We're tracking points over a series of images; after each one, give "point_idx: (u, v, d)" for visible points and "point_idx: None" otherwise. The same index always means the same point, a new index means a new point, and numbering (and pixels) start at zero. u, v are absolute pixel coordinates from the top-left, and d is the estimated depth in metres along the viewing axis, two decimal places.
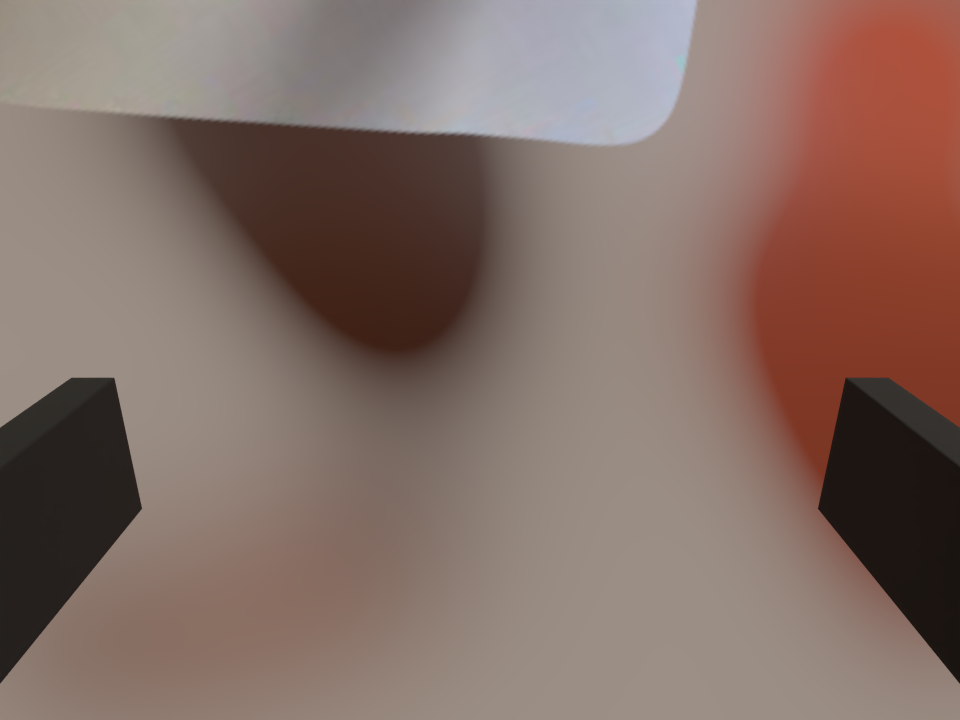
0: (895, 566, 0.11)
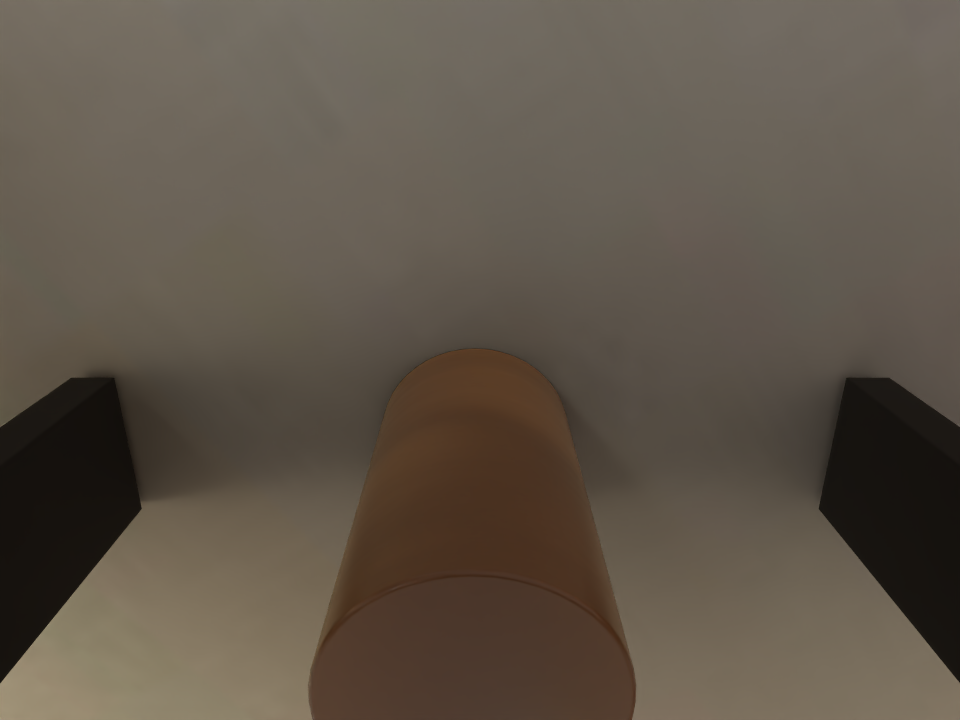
0: (895, 567, 0.11)
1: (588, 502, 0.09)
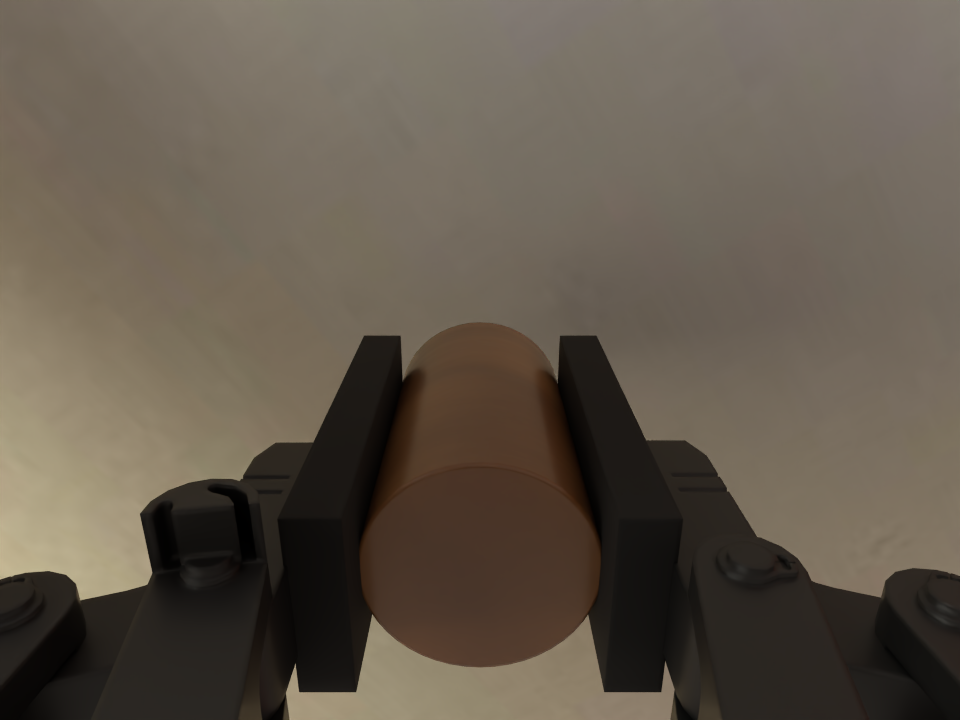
0: None
1: (572, 438, 0.12)
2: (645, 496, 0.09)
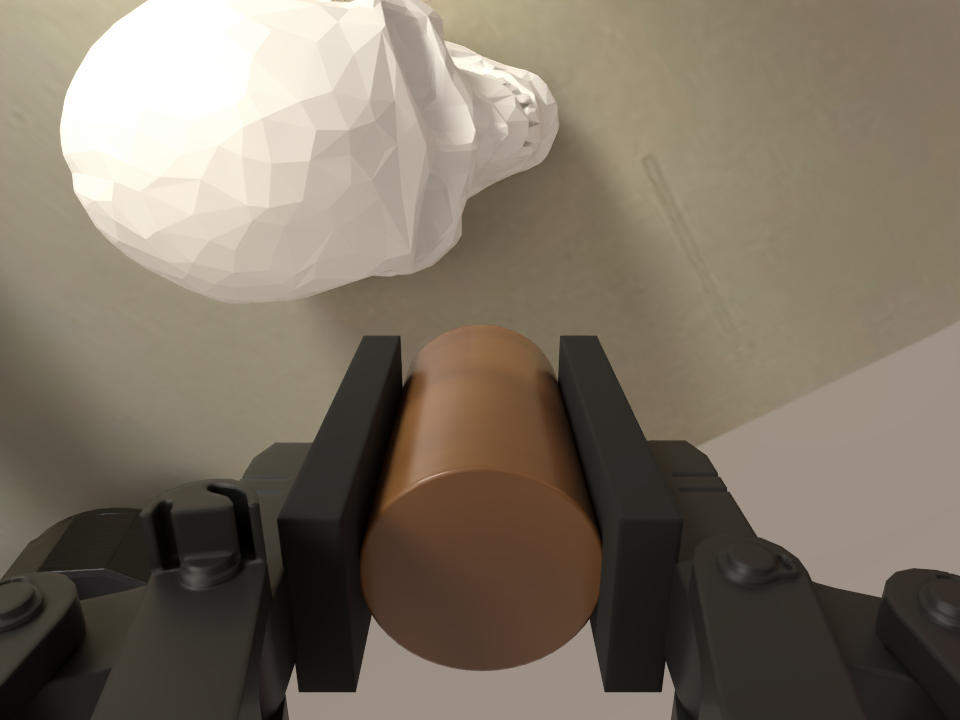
0: None
1: (573, 440, 0.12)
2: (645, 496, 0.09)
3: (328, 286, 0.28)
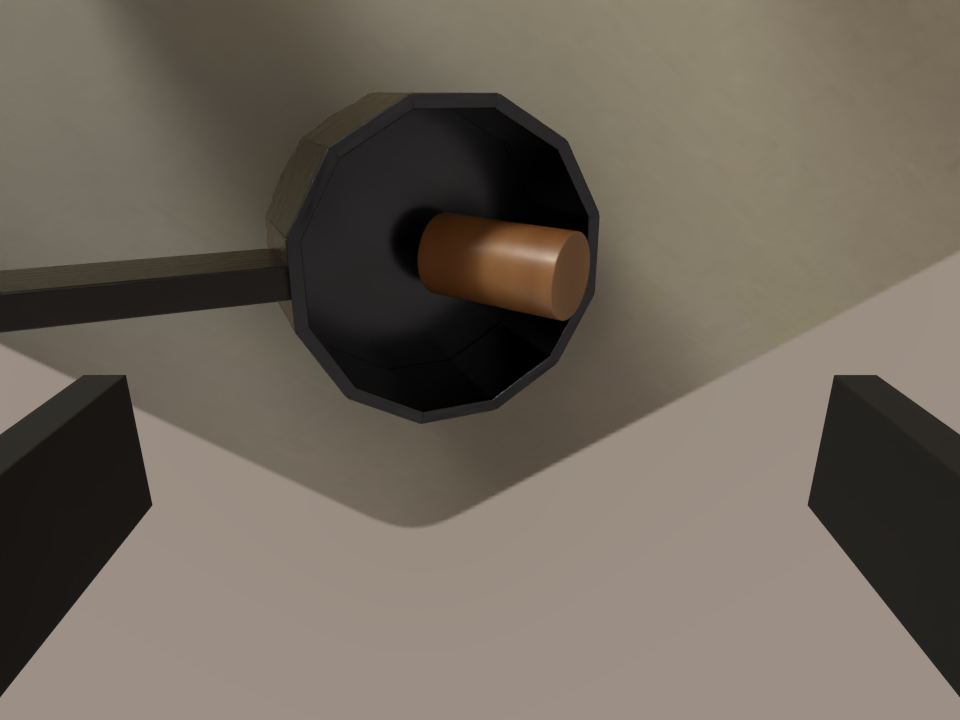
0: (881, 561, 0.11)
1: None
2: None
3: None
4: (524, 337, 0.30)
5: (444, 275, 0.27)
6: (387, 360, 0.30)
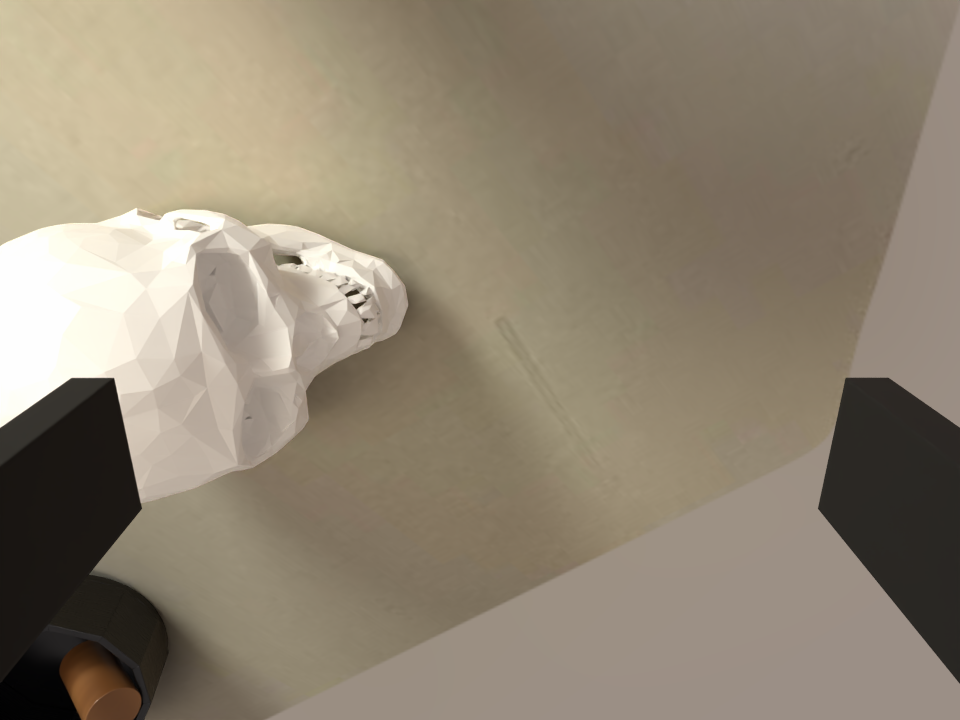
0: (895, 566, 0.11)
1: (122, 666, 0.47)
2: None
3: (165, 496, 0.31)
4: None
5: None
6: (74, 706, 0.51)
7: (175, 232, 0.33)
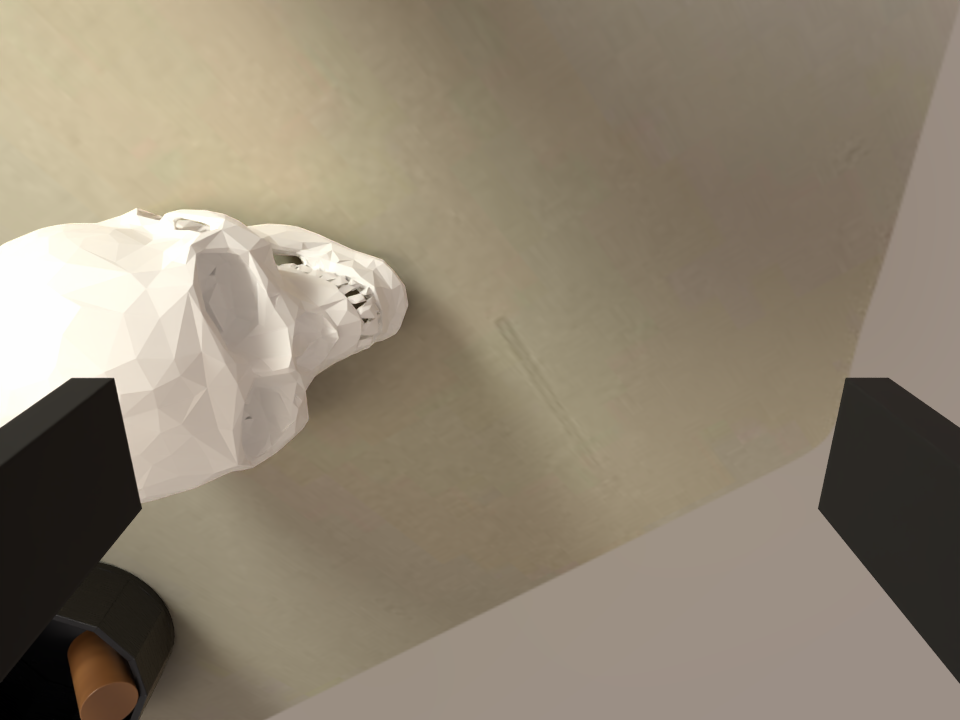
0: (895, 566, 0.11)
1: (123, 657, 0.47)
2: None
3: (165, 496, 0.31)
4: None
5: None
6: None
7: (175, 232, 0.33)
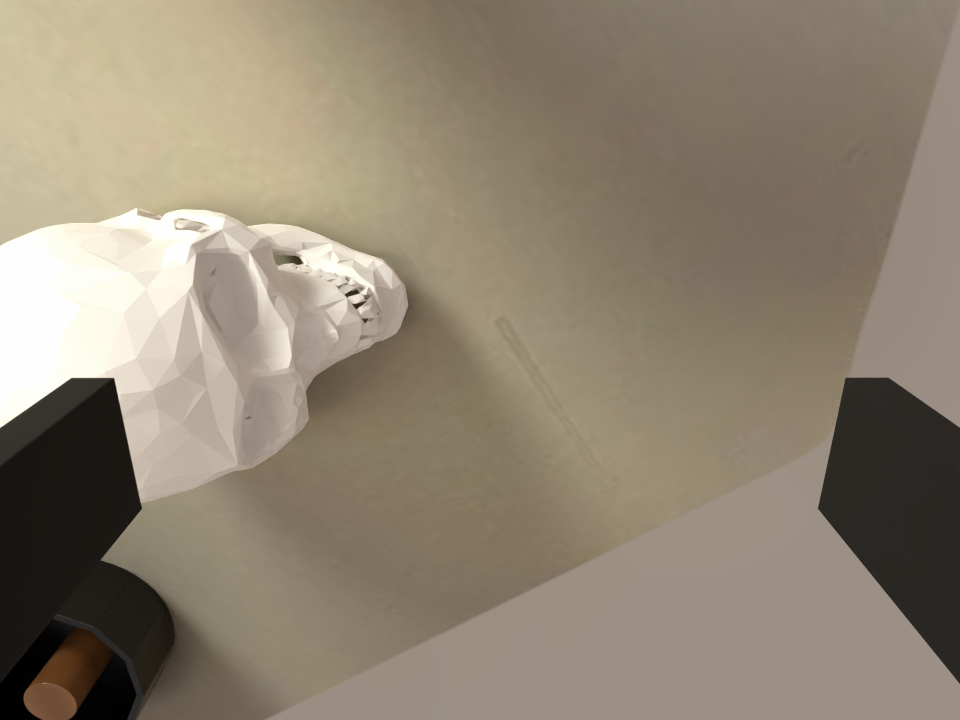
0: (895, 566, 0.11)
1: (92, 660, 0.47)
2: None
3: (165, 496, 0.31)
4: None
5: None
6: None
7: (175, 232, 0.33)
